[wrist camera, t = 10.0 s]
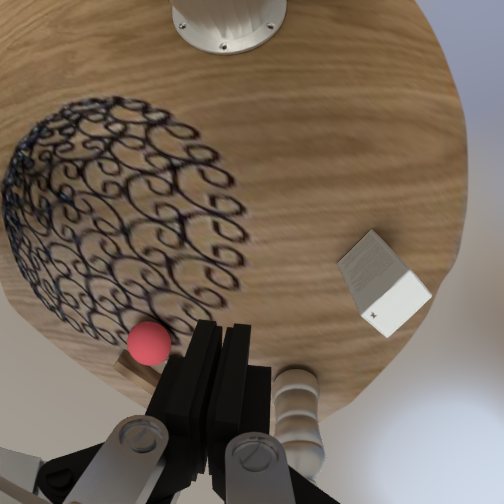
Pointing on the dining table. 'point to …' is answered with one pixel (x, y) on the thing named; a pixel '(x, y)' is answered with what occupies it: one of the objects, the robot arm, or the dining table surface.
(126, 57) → the dining table surface
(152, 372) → the board
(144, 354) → the ball
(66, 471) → the robot arm
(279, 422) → the plastic bottle
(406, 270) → the skincare box
